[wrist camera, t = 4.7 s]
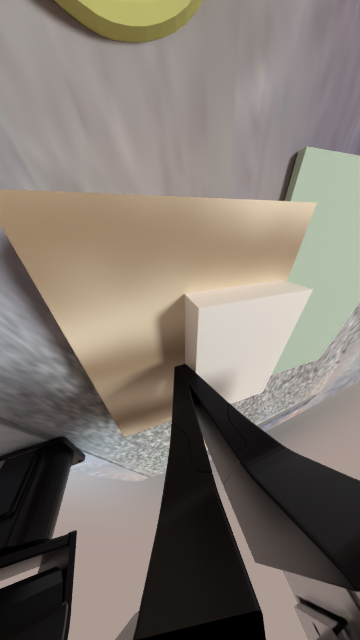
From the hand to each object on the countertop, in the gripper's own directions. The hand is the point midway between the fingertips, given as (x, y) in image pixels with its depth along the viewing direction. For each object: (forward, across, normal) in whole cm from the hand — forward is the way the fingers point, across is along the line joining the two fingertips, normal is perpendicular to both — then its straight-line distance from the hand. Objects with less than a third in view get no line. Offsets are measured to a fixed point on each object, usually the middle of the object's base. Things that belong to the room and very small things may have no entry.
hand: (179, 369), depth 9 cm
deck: (+4, -1, 0) cm, 4 cm away
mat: (+4, -18, 0) cm, 19 cm away
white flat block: (+1, -4, 0) cm, 4 cm away
